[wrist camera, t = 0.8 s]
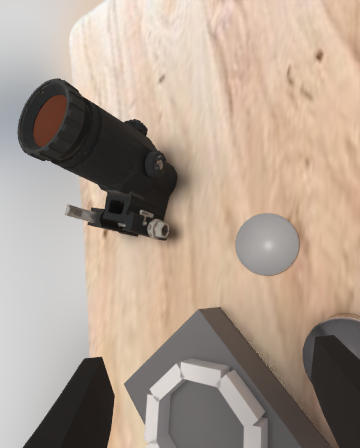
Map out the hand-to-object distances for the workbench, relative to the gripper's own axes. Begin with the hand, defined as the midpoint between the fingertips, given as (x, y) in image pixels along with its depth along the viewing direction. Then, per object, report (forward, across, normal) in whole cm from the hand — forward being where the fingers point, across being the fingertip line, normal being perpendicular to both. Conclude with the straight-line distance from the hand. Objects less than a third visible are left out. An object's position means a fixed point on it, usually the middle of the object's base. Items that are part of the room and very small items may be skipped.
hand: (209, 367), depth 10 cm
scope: (+23, +3, +1) cm, 23 cm away
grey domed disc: (+14, -6, +4) cm, 16 cm away
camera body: (+8, -1, +14) cm, 16 cm away
